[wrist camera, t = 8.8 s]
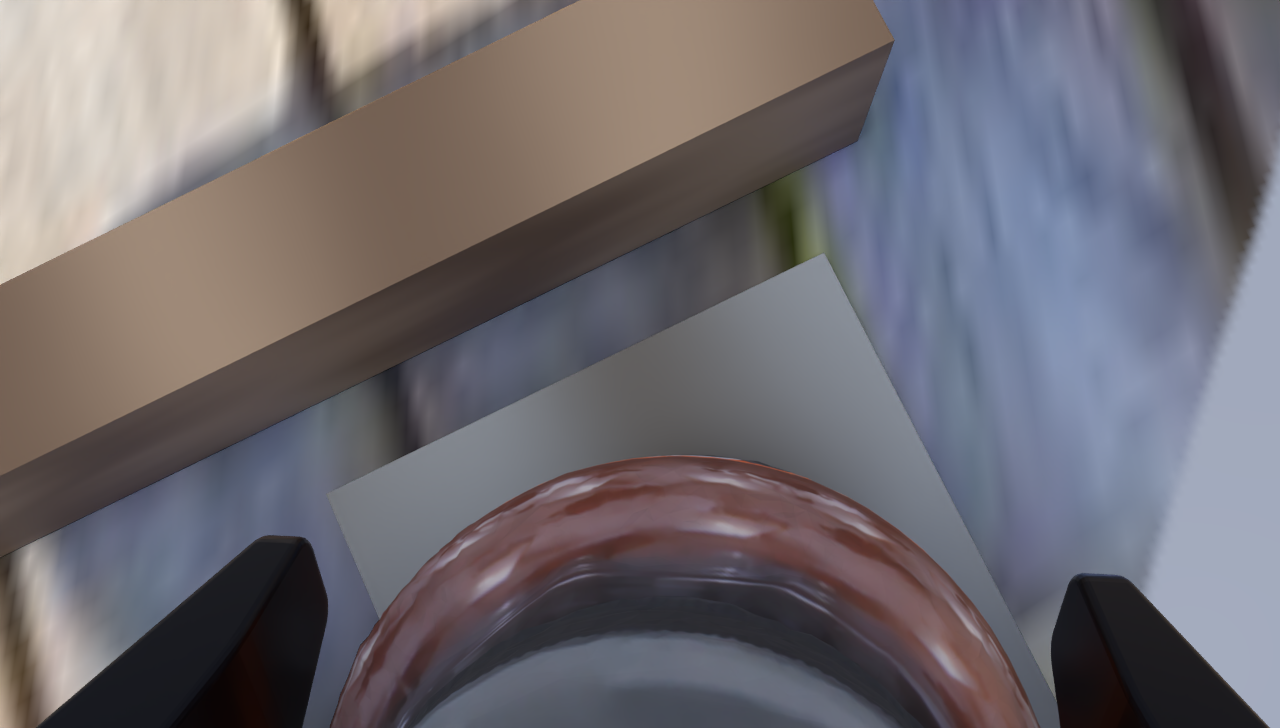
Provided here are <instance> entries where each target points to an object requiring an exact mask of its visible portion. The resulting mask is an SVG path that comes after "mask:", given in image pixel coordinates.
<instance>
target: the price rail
mask: <svg viewBox="0 0 1280 728" xmlns="http://www.w3.org/2000/svg"><path fill="white" fill-rule="evenodd" d="M893 43H894V38H893V36H892V34H891V33H890V31H889V29H888V27H887V25H886V23H885V22H884V20H883V18H882V16H881V14H880V13H879V11H878V9H877V7H876V5H875V3H874V2H873V0H580V1H578V2H576V3H574V4H572V5H570V6H568V7H565V8H563V9H561V10H559V11H557V12H555V13H553V14H551V15H549V16H547V17H545V18H543V19H541V20H539V21H537V22H535V23H533V24H531V25H529V26H527V27H525V28H523V29H521V30H519V31H517V32H514V33H512V34H510V35H508V36H506V37H504V38H502V39H500V40H498V41H496V42H494V43H492V44H490V45H488V46H486V47H484V48H482V49H480V50H478V51H476V52H474V53H472V54H470V55H468V56H466V57H464V58H461V59H459V60H457V61H455V62H453V63H451V64H449V65H447V66H445V67H443V68H441V69H439V70H437V71H435V72H433V73H431V74H429V75H427V76H425V77H423V78H421V79H419V80H417V81H415V82H413V83H410V84H408V85H406V86H404V87H402V88H400V89H398V90H396V91H394V92H392V93H390V94H388V95H386V96H384V97H382V98H380V99H378V100H376V101H374V102H372V103H370V104H368V105H366V106H364V107H362V108H359V109H357V110H355V111H353V112H351V113H349V114H347V115H345V116H343V117H341V118H339V119H337V120H335V121H333V122H331V123H329V124H327V125H325V126H323V127H321V128H319V129H317V130H315V131H313V132H311V133H308V134H306V135H304V136H302V137H300V138H298V139H296V140H294V141H292V142H290V143H288V144H286V145H284V146H282V147H280V148H278V149H276V150H274V151H272V152H270V153H268V154H266V155H264V156H262V157H260V158H258V159H256V160H254V161H252V162H250V163H248V164H246V165H244V166H242V167H240V168H237V169H235V170H233V171H231V172H229V173H227V174H225V175H223V176H221V177H219V178H217V179H215V180H213V181H211V182H209V183H207V184H205V185H203V186H201V187H199V188H197V189H195V190H193V191H191V192H189V193H187V194H184V195H182V196H180V197H178V198H176V199H174V200H172V201H170V202H168V203H166V204H164V205H162V206H160V207H158V208H156V209H154V210H152V211H150V212H148V213H146V214H144V215H142V216H140V217H138V218H136V219H133V220H131V221H129V222H127V223H125V224H123V225H121V226H119V227H117V228H115V229H113V230H111V231H109V232H107V233H105V234H103V235H101V236H99V237H97V238H95V239H93V240H91V241H89V242H87V243H85V244H82V245H80V246H78V247H76V248H74V249H72V250H70V251H68V252H66V253H64V254H62V255H60V256H58V257H56V258H54V259H52V260H50V261H48V262H46V263H44V264H42V265H40V266H38V267H36V268H34V269H31V270H29V271H27V272H25V273H23V274H21V275H19V276H17V277H15V278H13V279H11V280H9V281H7V282H5V283H3V284H1V285H0V557H2V556H4V555H6V554H8V553H10V552H13V551H15V550H17V549H19V548H21V547H23V546H25V545H27V544H29V543H31V542H33V541H35V540H37V539H39V538H41V537H43V536H45V535H48V534H50V533H52V532H54V531H56V530H58V529H60V528H62V527H64V526H66V525H68V524H70V523H72V522H74V521H76V520H78V519H80V518H83V517H85V516H87V515H89V514H91V513H93V512H95V511H97V510H99V509H101V508H103V507H105V506H107V505H109V504H111V503H113V502H115V501H117V500H120V499H122V498H124V497H126V496H128V495H130V494H132V493H134V492H136V491H138V490H140V489H142V488H144V487H146V486H148V485H150V484H152V483H155V482H157V481H159V480H161V479H163V478H165V477H167V476H169V475H171V474H173V473H175V472H177V471H179V470H181V469H183V468H185V467H187V466H190V465H192V464H194V463H196V462H198V461H200V460H202V459H204V458H206V457H208V456H210V455H212V454H214V453H216V452H218V451H220V450H222V449H225V448H227V447H229V446H231V445H233V444H235V443H237V442H239V441H241V440H243V439H245V438H247V437H249V436H251V435H253V434H255V433H257V432H259V431H262V430H264V429H266V428H268V427H270V426H272V425H274V424H276V423H278V422H280V421H282V420H284V419H286V418H288V417H290V416H292V415H294V414H297V413H299V412H301V411H303V410H305V409H307V408H309V407H311V406H313V405H315V404H317V403H319V402H321V401H323V400H325V399H327V398H329V397H332V396H334V395H336V394H338V393H340V392H342V391H344V390H346V389H348V388H350V387H352V386H354V385H356V384H358V383H360V382H362V381H364V380H367V379H369V378H371V377H373V376H375V375H377V374H379V373H381V372H383V371H385V370H387V369H389V368H391V367H393V366H395V365H397V364H399V363H401V362H404V361H406V360H408V359H410V358H412V357H414V356H416V355H418V354H420V353H422V352H424V351H426V350H428V349H430V348H432V347H434V346H436V345H439V344H441V343H443V342H445V341H447V340H449V339H451V338H453V337H455V336H457V335H459V334H461V333H463V332H465V331H467V330H469V329H471V328H474V327H476V326H478V325H480V324H482V323H484V322H486V321H488V320H490V319H492V318H494V317H496V316H498V315H500V314H502V313H504V312H506V311H509V310H511V309H513V308H515V307H517V306H519V305H521V304H523V303H525V302H527V301H529V300H531V299H533V298H535V297H537V296H539V295H541V294H543V293H546V292H548V291H550V290H552V289H554V288H556V287H558V286H560V285H562V284H564V283H566V282H568V281H570V280H572V279H574V278H576V277H578V276H581V275H583V274H585V273H587V272H589V271H591V270H593V269H595V268H597V267H599V266H601V265H603V264H605V263H607V262H609V261H611V260H613V259H616V258H618V257H620V256H622V255H624V254H626V253H628V252H630V251H632V250H634V249H636V248H638V247H640V246H642V245H644V244H646V243H648V242H651V241H653V240H655V239H657V238H659V237H661V236H663V235H665V234H667V233H669V232H671V231H673V230H675V229H677V228H679V227H681V226H683V225H685V224H688V223H690V222H692V221H694V220H696V219H698V218H700V217H702V216H704V215H706V214H708V213H710V212H712V211H714V210H716V209H718V208H720V207H723V206H725V205H727V204H729V203H731V202H733V201H735V200H737V199H739V198H741V197H743V196H745V195H747V194H749V193H751V192H753V191H755V190H758V189H760V188H762V187H764V186H766V185H768V184H770V183H772V182H774V181H776V180H778V179H780V178H782V177H784V176H786V175H788V174H790V173H793V172H795V171H797V170H799V169H801V168H803V167H805V166H807V165H809V164H811V163H813V162H815V161H817V160H819V159H821V158H823V157H825V156H827V155H830V154H832V153H834V152H836V151H838V150H840V149H842V148H844V147H846V146H848V145H850V144H852V143H854V142H856V141H858V138H859V135H860V133H861V130H862V127H863V124H864V122H865V119H866V116H867V114H868V111H869V108H870V105H871V103H872V100H873V97H874V95H875V92H876V89H877V86H878V84H879V81H880V78H881V76H882V73H883V70H884V67H885V65H886V62H887V59H888V57H889V54H890V51H891V48H892V46H893ZM671 455H714V456H721V457H729V458H739V459H742V460H752V461H759V462H761V463H764V464H767V465H770V466H772V467H776V468H779V469H782V470H785V471H787V472H790V473H793V474H796V475H799V476H802V477H805V478H808V479H810V480H812V481H814V482H816V483H819V484H821V485H823V486H825V487H828V488H830V489H832V490H834V491H836V492H839V493H841V494H843V495H845V496H847V497H849V498H851V499H852V500H854V501H856V502H858V503H859V504H861V505H863V506H865V507H867V508H868V509H870V510H871V511H873V512H874V513H876V514H877V515H878V516H880V517H881V518H883V519H884V520H886V521H887V522H889V523H890V524H891V525H893V526H894V527H896V528H897V529H899V530H900V531H901V532H902V533H903V534H905V535H906V536H907V537H908V538H910V539H911V540H912V541H913V542H914V543H916V544H917V545H918V546H919V547H920V548H922V549H923V550H924V551H925V552H926V553H927V554H928V555H929V556H930V557H931V558H932V559H933V560H934V561H935V562H936V563H937V564H938V565H939V566H940V567H941V568H942V569H943V570H944V571H945V572H946V573H948V575H949V576H950V577H951V578H952V579H953V580H954V582H955V583H956V584H957V585H958V586H959V587H960V588H961V590H962V591H963V592H964V593H965V594H966V595H967V597H968V598H969V599H970V600H971V601H972V603H973V604H974V605H975V607H976V608H977V609H978V611H979V612H980V613H981V615H982V616H983V617H984V619H985V620H986V622H987V623H988V624H989V626H990V627H991V629H992V630H993V632H994V634H995V635H996V637H997V639H998V641H999V642H1000V644H1001V646H1002V647H1003V649H1004V651H1005V652H1006V654H1007V656H1008V657H1009V659H1010V661H1011V663H1012V665H1013V667H1014V670H1015V672H1016V674H1017V676H1018V678H1019V680H1020V682H1021V684H1022V686H1023V688H1024V690H1025V692H1026V694H1027V697H1028V699H1029V701H1030V704H1031V706H1032V709H1033V711H1034V713H1035V716H1036V718H1037V721H1038V723H1039V725H1040V728H1060V722H1059V714H1058V707H1057V702H1056V700H1055V698H1054V696H1053V694H1052V692H1051V690H1050V688H1049V686H1048V684H1047V683H1046V681H1045V679H1044V677H1043V675H1042V673H1041V671H1040V669H1039V667H1038V665H1037V663H1036V661H1035V659H1034V657H1033V655H1032V654H1031V652H1030V650H1029V648H1028V646H1027V644H1026V642H1025V640H1024V638H1023V636H1022V634H1021V632H1020V630H1019V628H1018V627H1017V625H1016V623H1015V621H1014V619H1013V617H1012V615H1011V613H1010V611H1009V609H1008V607H1007V605H1006V603H1005V601H1004V599H1003V598H1002V596H1001V594H1000V592H999V590H998V588H997V586H996V584H995V582H994V580H993V578H992V576H991V574H990V572H989V570H988V569H987V567H986V565H985V563H984V561H983V559H982V557H981V555H980V553H979V551H978V549H977V547H976V545H975V543H974V541H973V540H972V538H971V536H970V534H969V532H968V530H967V528H966V526H965V524H964V522H963V520H962V518H961V516H960V514H959V513H958V511H957V509H956V507H955V505H954V503H953V501H952V499H951V497H950V495H949V493H948V491H947V489H946V487H945V485H944V484H943V482H942V480H941V478H940V476H939V474H938V472H937V470H936V468H935V466H934V464H933V462H932V460H931V458H930V456H929V455H928V453H927V451H926V449H925V447H924V445H923V443H922V441H921V439H920V437H919V435H918V433H917V431H916V429H915V428H914V426H913V424H912V422H911V420H910V418H909V416H908V414H907V412H906V410H905V408H904V406H903V404H902V402H901V400H900V399H899V397H898V395H897V393H896V391H895V389H894V387H893V385H892V383H891V381H890V379H889V377H888V375H887V373H886V371H885V370H884V368H883V366H882V364H881V362H880V360H879V358H878V356H877V354H876V352H875V350H874V348H873V346H872V344H871V343H870V341H869V339H868V337H867V335H866V333H865V331H864V329H863V327H862V325H861V323H860V321H859V319H858V317H857V315H856V314H855V312H854V310H853V308H852V306H851V304H850V302H849V300H848V298H847V296H846V294H845V292H844V290H843V288H842V286H841V285H840V283H839V281H838V279H837V277H836V275H835V273H834V271H833V269H832V267H831V265H830V263H829V261H828V259H827V257H826V256H825V254H824V253H822V254H820V255H818V256H816V257H814V258H812V259H810V260H808V261H806V262H804V263H802V264H800V265H798V266H796V267H793V268H791V269H789V270H787V271H785V272H783V273H781V274H779V275H777V276H775V277H773V278H771V279H769V280H767V281H765V282H763V283H760V284H758V285H756V286H754V287H752V288H750V289H748V290H746V291H744V292H742V293H740V294H738V295H736V296H734V297H732V298H729V299H727V300H725V301H723V302H721V303H719V304H717V305H715V306H713V307H711V308H709V309H707V310H705V311H703V312H701V313H699V314H696V315H694V316H692V317H690V318H688V319H686V320H684V321H682V322H680V323H678V324H676V325H674V326H672V327H670V328H668V329H665V330H663V331H661V332H659V333H657V334H655V335H653V336H651V337H649V338H647V339H645V340H643V341H641V342H639V343H637V344H635V345H632V346H630V347H628V348H626V349H624V350H622V351H620V352H618V353H616V354H614V355H612V356H610V357H608V358H606V359H604V360H601V361H599V362H597V363H595V364H593V365H591V366H589V367H587V368H585V369H583V370H581V371H579V372H577V373H575V374H573V375H571V376H568V377H566V378H564V379H562V380H560V381H558V382H556V383H554V384H552V385H550V386H548V387H546V388H544V389H542V390H540V391H537V392H535V393H533V394H531V395H529V396H527V397H525V398H523V399H521V400H519V401H517V402H515V403H513V404H511V405H509V406H507V407H504V408H502V409H500V410H498V411H496V412H494V413H492V414H490V415H488V416H486V417H484V418H482V419H480V420H478V421H476V422H473V423H471V424H469V425H467V426H465V427H463V428H461V429H459V430H457V431H455V432H453V433H451V434H449V435H447V436H445V437H443V438H440V439H438V440H436V441H434V442H432V443H430V444H428V445H426V446H424V447H422V448H420V449H418V450H416V451H414V452H412V453H409V454H407V455H405V456H403V457H401V458H399V459H397V460H395V461H393V462H391V463H389V464H387V465H385V466H383V467H381V468H379V469H376V470H374V471H372V472H370V473H368V474H366V475H364V476H362V477H360V478H358V479H356V480H354V481H352V482H350V483H348V484H345V485H343V486H341V487H339V488H337V489H335V490H333V491H331V492H329V493H327V494H326V495H327V498H328V500H329V502H330V505H331V507H332V509H333V512H334V514H335V516H336V519H337V521H338V523H339V526H340V528H341V530H342V533H343V535H344V538H345V540H346V542H347V545H348V547H349V549H350V552H351V554H352V556H353V559H354V561H355V563H356V566H357V568H358V570H359V573H360V575H361V577H362V580H363V582H364V584H365V587H366V589H367V592H368V594H369V596H370V599H371V601H372V603H373V606H374V608H375V610H376V613H377V615H378V617H379V620H380V618H381V616H382V614H383V612H384V611H385V610H386V609H387V608H388V606H389V605H390V604H391V603H392V602H393V600H394V599H395V598H396V596H397V595H398V594H399V592H400V591H401V590H402V589H403V588H404V587H405V586H406V585H407V584H408V583H409V582H410V581H411V580H412V578H413V577H414V576H415V575H416V573H417V572H418V571H419V570H420V568H421V567H422V566H423V565H424V564H425V563H426V562H427V561H428V560H429V559H430V558H431V557H433V556H434V555H435V554H436V553H437V552H439V550H440V549H441V548H442V547H444V546H445V545H446V544H447V543H449V542H450V541H451V540H452V539H453V538H454V537H455V536H456V535H457V534H458V533H459V532H461V531H462V530H463V529H465V528H466V527H467V526H469V525H470V524H473V523H474V522H476V521H477V520H479V519H480V518H482V517H483V516H485V515H486V514H488V513H489V512H491V511H493V510H494V509H496V508H497V507H499V506H501V505H502V504H504V503H505V502H507V501H509V500H511V499H513V498H515V497H516V496H518V495H520V494H522V493H524V492H526V491H528V490H530V489H532V488H534V487H536V486H538V485H540V484H542V483H545V482H547V481H549V480H552V479H554V478H556V477H559V476H561V475H563V474H566V473H569V472H573V471H577V470H581V469H585V468H588V467H592V466H596V465H601V464H606V463H610V462H616V461H621V460H627V459H633V458H644V457H654V456H671Z"/></svg>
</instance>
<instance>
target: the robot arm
mask: <svg viewBox="0 0 1280 728" xmlns="http://www.w3.org/2000/svg"><path fill="white" fill-rule="evenodd" d="M327 617H328V599H327V594H326V591H325V587H324V584H323V581H322V577H321V574H320V571H319V567H318V564H317V561H316V557H315V554H314V551H313V548H312V546H311V544H310V542H309V541H308V540H307V539H305V538H302V537H296V536H274V535H268V536H263V537H261V538H259V539H257V540H255V541H254V542H253V543H252V544H250V545H249V546H248V547H247V548H246V549H245V550H243V551H242V552H241V553H240V554H239V555H237V556H236V557H235V558H234V559H233V560H232V561H230V562H229V563H228V564H227V565H226V566H225V567H223V568H222V569H221V570H220V571H219V572H218V573H216V574H215V575H214V576H213V577H212V578H211V579H209V580H208V581H207V582H206V583H205V584H203V585H202V586H201V587H200V588H199V589H198V590H196V591H195V592H194V593H193V594H192V595H191V596H189V597H188V598H187V599H186V600H185V601H184V602H182V603H181V604H180V605H179V606H178V607H177V608H175V609H174V610H173V611H172V612H171V613H170V614H168V615H167V616H166V617H165V618H164V619H162V620H161V621H160V622H159V623H158V624H157V625H155V626H154V627H153V628H152V629H151V630H150V631H148V632H147V633H146V634H145V635H144V636H143V637H141V638H140V639H139V640H138V641H137V642H136V643H134V644H133V645H132V646H131V647H130V648H128V649H127V650H126V651H125V652H124V653H123V654H121V655H120V656H119V657H118V658H117V659H116V660H114V661H113V662H112V663H111V664H110V665H109V666H107V667H106V668H105V669H104V670H103V671H102V672H100V673H99V674H98V675H97V676H96V677H94V678H93V679H92V680H91V681H90V682H89V683H87V684H86V685H85V686H84V687H83V688H82V689H80V690H79V691H78V692H77V693H76V694H75V695H73V696H72V697H71V698H70V699H69V700H68V701H66V702H65V703H64V704H63V705H62V706H60V707H59V708H58V709H57V710H56V711H55V712H53V713H52V714H51V715H50V716H49V717H48V718H46V719H45V720H44V721H43V722H42V723H41V724H39V725H38V726H37V727H36V728H302V726H303V722H304V717H305V713H306V709H307V705H308V700H309V696H310V692H311V687H312V683H313V679H314V675H315V670H316V666H317V662H318V658H319V653H320V649H321V645H322V640H323V636H324V632H325V628H326V623H327ZM1051 661H1052V669H1053V677H1054V684H1055V692H1056V699H1057V707H1058V714H1059V722H1060V728H1269V727H1268V726H1267V725H1266V723H1265V722H1264V721H1263V720H1262V719H1261V718H1260V717H1259V716H1258V715H1257V714H1256V713H1255V712H1254V711H1253V710H1252V709H1251V708H1250V707H1249V705H1247V703H1246V702H1245V701H1244V700H1243V699H1242V698H1241V697H1240V696H1239V695H1238V694H1237V693H1236V692H1235V691H1234V690H1233V689H1232V688H1231V687H1230V685H1229V684H1228V683H1227V682H1226V681H1225V680H1224V679H1223V678H1222V677H1221V676H1220V675H1219V674H1218V673H1217V672H1216V671H1215V670H1214V669H1213V668H1212V666H1210V664H1209V663H1208V662H1207V661H1206V660H1205V659H1204V658H1203V657H1202V656H1201V655H1200V654H1199V653H1198V652H1197V651H1196V650H1195V649H1194V648H1193V647H1192V645H1191V644H1190V643H1189V642H1188V641H1187V640H1186V639H1185V638H1184V637H1183V636H1182V635H1181V634H1180V633H1179V632H1178V631H1177V630H1176V629H1175V628H1174V626H1173V625H1172V624H1170V622H1169V621H1168V620H1167V619H1166V618H1165V617H1164V616H1163V615H1162V614H1161V613H1160V612H1159V611H1158V610H1157V609H1156V608H1155V607H1154V606H1153V604H1152V603H1151V602H1150V601H1149V600H1148V599H1147V598H1146V597H1145V596H1144V595H1143V594H1142V593H1141V592H1140V591H1139V590H1138V589H1137V587H1136V586H1135V585H1134V584H1133V583H1132V582H1130V581H1129V580H1128V579H1126V578H1124V577H1122V576H1119V575H1107V574H1086V573H1081V574H1077V575H1075V576H1074V577H1073V578H1072V579H1071V581H1070V582H1069V585H1068V587H1067V591H1066V594H1065V597H1064V600H1063V603H1062V606H1061V609H1060V612H1059V616H1058V619H1057V622H1056V625H1055V628H1054V631H1053V635H1052V641H1051Z"/></svg>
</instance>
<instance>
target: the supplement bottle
mask: <svg viewBox="0 0 1280 728" xmlns="http://www.w3.org/2000/svg"><path fill="white" fill-rule="evenodd" d="M330 728H1040V725H1039V723H1038V721H1037V718H1036V716H1035V713H1034V711H1033V709H1032V706H1031V704H1030V701H1029V699H1028V697H1027V694H1026V692H1025V690H1024V688H1023V686H1022V684H1021V682H1020V680H1019V678H1018V676H1017V674H1016V672H1015V670H1014V667H1013V665H1012V663H1011V661H1010V659H1009V657H1008V656H1007V654H1006V652H1005V651H1004V649H1003V647H1002V646H1001V644H1000V642H999V641H998V639H997V637H996V635H995V634H994V632H993V630H992V629H991V627H990V626H989V624H988V623H987V622H986V620H985V619H984V617H983V616H982V615H981V613H980V612H979V611H978V609H977V608H976V607H975V605H974V604H973V603H972V601H971V600H970V599H969V598H968V597H967V595H966V594H965V593H964V592H963V591H962V590H961V588H960V587H959V586H958V585H957V584H956V583H955V582H954V580H953V579H952V578H951V577H950V576H949V575H948V573H946V572H945V571H944V570H943V569H942V568H941V567H940V566H939V565H938V564H937V563H936V562H935V561H934V560H933V559H932V558H931V557H930V556H929V555H928V554H927V553H926V552H925V551H924V550H923V549H922V548H920V547H919V546H918V545H917V544H916V543H914V542H913V541H912V540H911V539H910V538H908V537H907V536H906V535H905V534H903V533H902V532H901V531H900V530H899V529H897V528H896V527H894V526H893V525H891V524H890V523H889V522H887V521H886V520H884V519H883V518H881V517H880V516H878V515H877V514H876V513H874V512H873V511H871V510H870V509H868V508H867V507H865V506H863V505H861V504H859V503H858V502H856V501H854V500H852V499H851V498H849V497H847V496H845V495H843V494H841V493H839V492H836V491H834V490H832V489H830V488H828V487H825V486H823V485H821V484H819V483H816V482H814V481H812V480H810V479H808V478H805V477H802V476H799V475H796V474H793V473H790V472H787V471H785V470H782V469H779V468H776V467H772V466H770V465H767V464H764V463H761V462H759V461H752V460H742V459H739V458H729V457H721V456H714V455H671V456H654V457H644V458H633V459H627V460H621V461H616V462H610V463H606V464H601V465H596V466H592V467H588V468H585V469H581V470H577V471H573V472H569V473H566V474H563V475H561V476H559V477H556V478H554V479H552V480H549V481H547V482H545V483H542V484H540V485H538V486H536V487H534V488H532V489H530V490H528V491H526V492H524V493H522V494H520V495H518V496H516V497H515V498H513V499H511V500H509V501H507V502H505V503H504V504H502V505H501V506H499V507H497V508H496V509H494V510H493V511H491V512H489V513H488V514H486V515H485V516H483V517H482V518H480V519H479V520H477V521H476V522H474V523H473V524H470V525H469V526H467V527H466V528H465V529H463V530H462V531H461V532H459V533H458V534H457V535H456V536H455V537H454V538H453V539H452V540H451V541H450V542H449V543H447V544H446V545H445V546H444V547H442V548H441V549H440V550H439V552H437V553H436V554H435V555H434V556H433V557H431V558H430V559H429V560H428V561H427V562H426V563H425V564H424V565H423V566H422V567H421V568H420V570H419V571H418V572H417V573H416V575H415V576H414V577H413V578H412V580H411V581H410V582H409V583H408V584H407V585H406V586H405V587H404V588H403V589H402V590H401V591H400V592H399V594H398V595H397V596H396V598H395V599H394V600H393V602H392V603H391V604H390V605H389V606H388V608H387V609H386V610H385V611H384V612H383V614H382V616H381V618H380V620H379V621H378V622H377V623H376V624H375V626H374V628H373V630H372V631H371V633H370V635H369V636H368V637H367V638H366V640H365V641H364V642H363V643H362V644H361V645H360V647H359V649H358V652H357V654H356V657H355V660H354V662H353V665H352V668H351V670H350V673H349V676H348V678H347V680H346V683H345V685H344V687H343V689H342V692H341V694H340V697H339V701H338V705H337V708H336V711H335V713H334V716H333V719H332V722H331V724H330Z"/></svg>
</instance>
